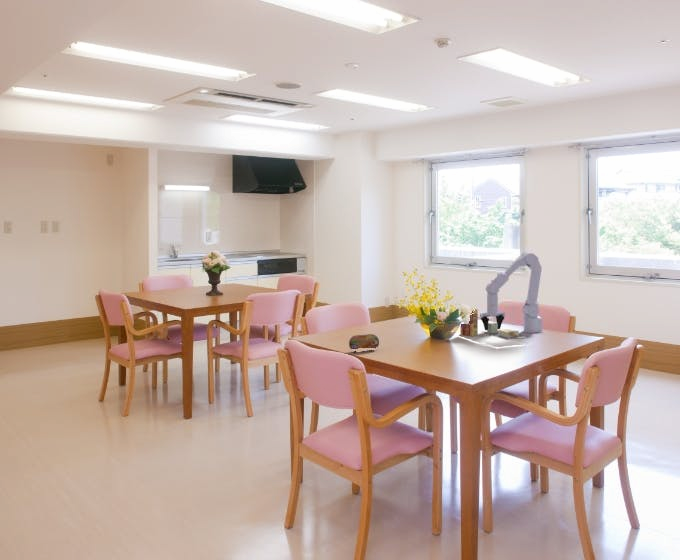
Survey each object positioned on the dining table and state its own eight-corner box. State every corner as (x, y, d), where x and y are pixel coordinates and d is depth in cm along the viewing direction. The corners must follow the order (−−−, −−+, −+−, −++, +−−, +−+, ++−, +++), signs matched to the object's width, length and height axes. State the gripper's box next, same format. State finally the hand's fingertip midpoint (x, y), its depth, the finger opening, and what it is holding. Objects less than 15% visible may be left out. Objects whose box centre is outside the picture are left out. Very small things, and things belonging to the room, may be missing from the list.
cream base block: (511, 334, 319) (511, 328, 319) (518, 336, 312) (518, 330, 312) (499, 335, 317) (499, 329, 317) (507, 337, 310) (506, 332, 310)
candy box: (478, 337, 319) (478, 309, 318) (473, 338, 317) (473, 309, 315) (465, 335, 326) (464, 307, 325) (460, 336, 323) (459, 308, 322)
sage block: (493, 331, 329) (493, 322, 329) (497, 332, 325) (497, 323, 325) (487, 331, 328) (487, 323, 327) (491, 333, 324) (491, 324, 324)
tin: (350, 353, 289) (349, 336, 288) (348, 352, 292) (347, 335, 291) (379, 350, 293) (379, 333, 292) (377, 349, 296) (377, 332, 295)
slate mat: (503, 331, 333) (503, 329, 332) (530, 339, 309) (530, 337, 309) (481, 333, 329) (481, 331, 328) (506, 341, 305) (506, 339, 305)
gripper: (500, 303, 331) (500, 327, 332) (476, 304, 327) (477, 329, 328) (507, 304, 324) (507, 329, 326) (483, 306, 320) (483, 331, 321)
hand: (492, 329), depth 326 cm, fingers open, 7 cm apart
